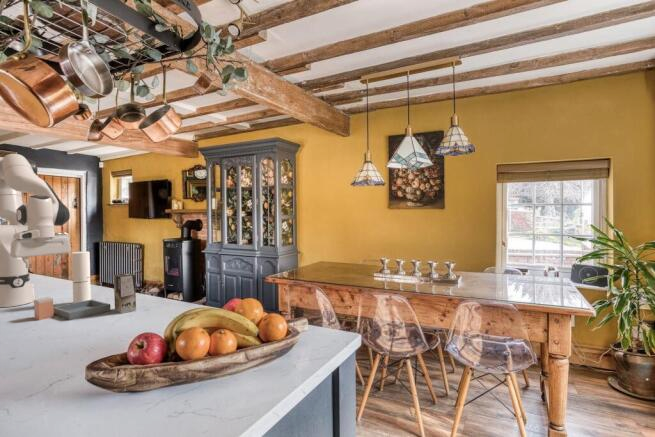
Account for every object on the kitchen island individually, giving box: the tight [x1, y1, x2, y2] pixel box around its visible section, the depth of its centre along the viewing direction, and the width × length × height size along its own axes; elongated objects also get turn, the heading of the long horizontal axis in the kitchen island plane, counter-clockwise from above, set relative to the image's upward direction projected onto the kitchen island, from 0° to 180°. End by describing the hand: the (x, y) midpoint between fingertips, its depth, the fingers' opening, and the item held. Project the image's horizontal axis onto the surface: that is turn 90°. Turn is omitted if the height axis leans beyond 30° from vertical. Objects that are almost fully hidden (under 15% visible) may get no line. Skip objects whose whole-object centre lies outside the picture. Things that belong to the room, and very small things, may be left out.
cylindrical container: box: [71, 251, 92, 303], centre depth 175 cm, size 7×7×25 cm
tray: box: [53, 299, 111, 321], centre depth 159 cm, size 17×16×3 cm
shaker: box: [33, 296, 55, 321], centre depth 152 cm, size 5×5×8 cm
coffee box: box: [113, 272, 137, 314], centre depth 162 cm, size 9×6×16 cm
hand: (42, 266), depth 151 cm, fingers open, 8 cm apart
